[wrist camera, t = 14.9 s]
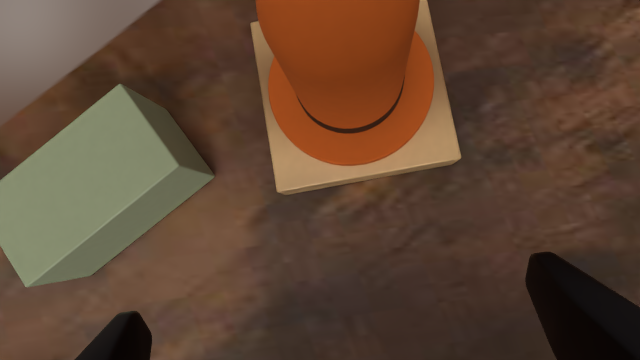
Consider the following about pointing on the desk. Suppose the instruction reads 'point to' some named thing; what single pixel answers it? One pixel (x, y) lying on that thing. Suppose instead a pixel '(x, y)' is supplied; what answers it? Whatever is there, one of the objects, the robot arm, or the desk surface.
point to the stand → (417, 154)
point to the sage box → (96, 188)
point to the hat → (347, 76)
